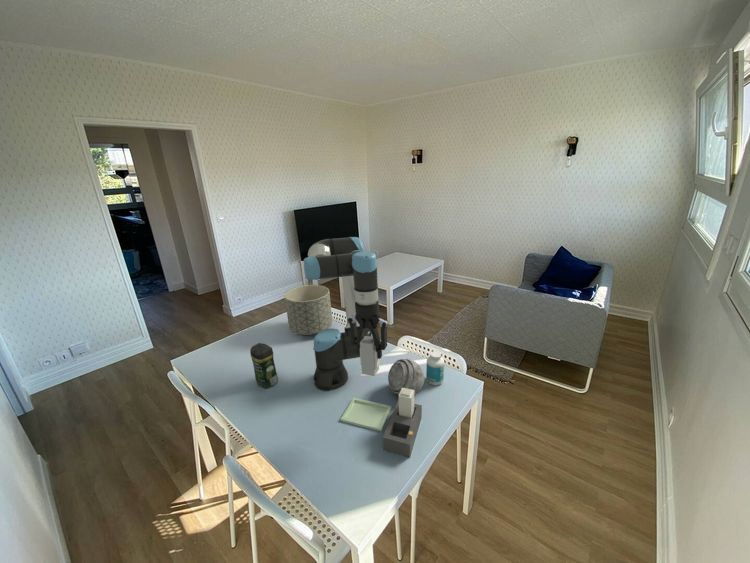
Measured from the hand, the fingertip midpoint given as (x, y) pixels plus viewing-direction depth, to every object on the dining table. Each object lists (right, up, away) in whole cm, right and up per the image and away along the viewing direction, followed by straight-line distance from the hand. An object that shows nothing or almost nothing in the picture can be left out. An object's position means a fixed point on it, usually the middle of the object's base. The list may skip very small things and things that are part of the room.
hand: (370, 364), depth 104 cm
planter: (-36, -1, +78) cm, 85 cm away
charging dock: (+12, -25, +3) cm, 28 cm away
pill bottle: (+28, -15, +30) cm, 43 cm away
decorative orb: (+15, -18, +23) cm, 33 cm away
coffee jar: (-47, -17, +33) cm, 60 cm away
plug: (0, -3, +1) cm, 3 cm away
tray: (-2, -23, +12) cm, 26 cm away
